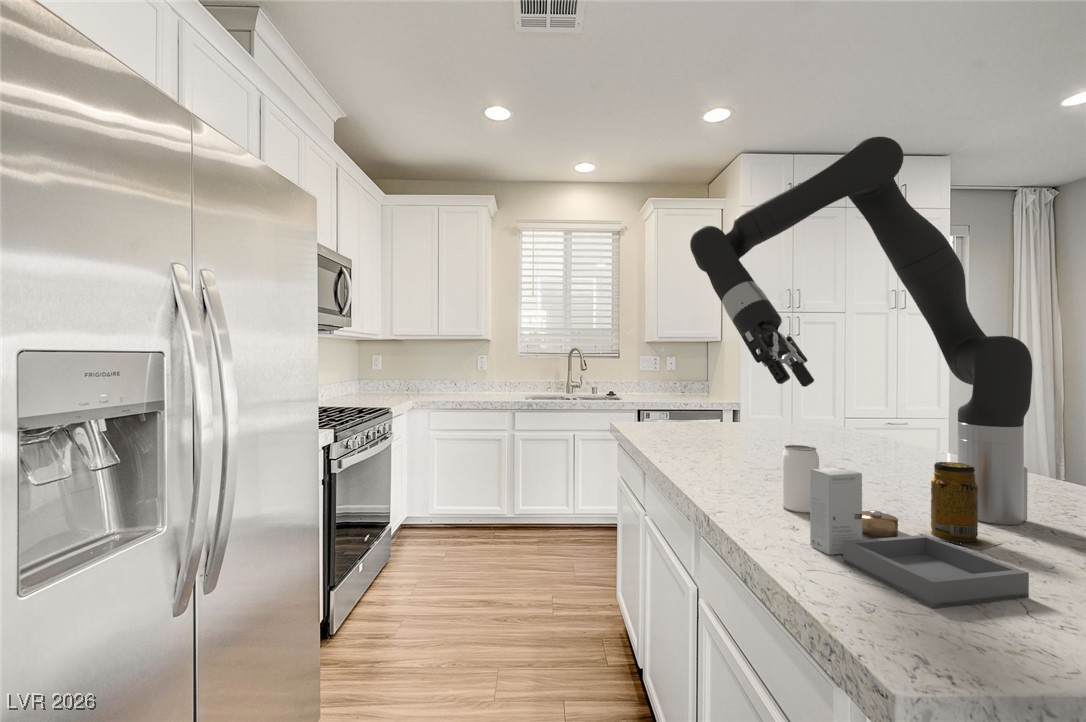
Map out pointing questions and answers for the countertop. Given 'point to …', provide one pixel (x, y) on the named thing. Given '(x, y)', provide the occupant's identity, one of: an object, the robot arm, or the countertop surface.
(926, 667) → the countertop surface
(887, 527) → the service bell
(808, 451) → the can
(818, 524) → the skincare box
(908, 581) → the tray
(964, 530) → the condiment
